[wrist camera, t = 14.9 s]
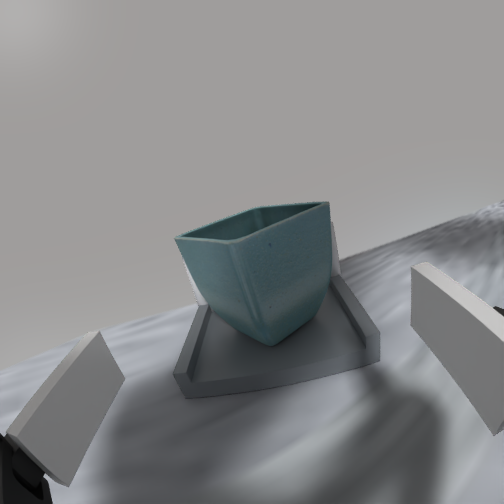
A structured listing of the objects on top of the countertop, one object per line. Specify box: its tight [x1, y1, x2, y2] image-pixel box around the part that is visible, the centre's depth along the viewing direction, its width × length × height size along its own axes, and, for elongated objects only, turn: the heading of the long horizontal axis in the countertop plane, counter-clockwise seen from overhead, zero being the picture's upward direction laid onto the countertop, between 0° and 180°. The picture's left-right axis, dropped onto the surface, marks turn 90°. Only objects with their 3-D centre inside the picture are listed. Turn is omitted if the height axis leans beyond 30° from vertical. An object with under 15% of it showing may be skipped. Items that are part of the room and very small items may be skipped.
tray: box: [173, 222, 380, 398], centre depth 22 cm, size 15×12×8 cm
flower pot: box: [174, 202, 332, 346], centre depth 22 cm, size 9×9×9 cm
